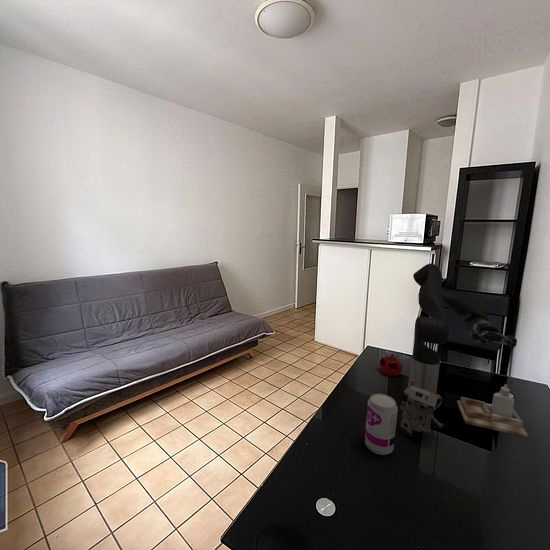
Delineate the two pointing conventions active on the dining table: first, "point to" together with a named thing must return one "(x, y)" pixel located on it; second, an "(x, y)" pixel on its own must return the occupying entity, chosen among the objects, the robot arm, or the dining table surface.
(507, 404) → the eye dropper bottle
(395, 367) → the pomegranate
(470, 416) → the wooden compartment tray
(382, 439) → the supplement can
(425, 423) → the figurine
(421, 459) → the dining table surface
